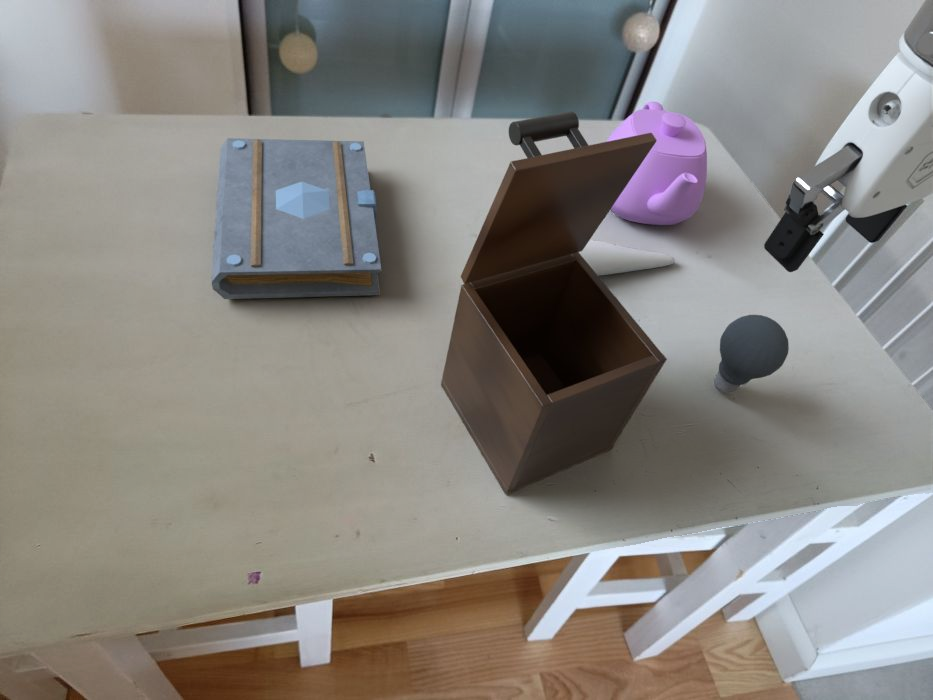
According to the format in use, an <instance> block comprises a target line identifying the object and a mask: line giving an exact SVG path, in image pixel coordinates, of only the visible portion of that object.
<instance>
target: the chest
mask: <svg viewBox="0 0 933 700" xmlns="http://www.w3.org/2000/svg"><path fill="white" fill-rule="evenodd" d="M609 288H610V287H608V286H607V285H606V283H605V282H604V281H603V280H602V279H601V277H600V276H598V275H597V274H596V273H595V271H594V270H593V269H592V268H591V267H590V265H589V264H588V263H587V262H586V261H585V259H584V258H583V257H582V256H581V255H580V253H579V252H577V253H574V254H570V255H567V256H563V257H559V258H556V259H552V260H549V261H545V262H542V263H538V264H535V265H531V266H527V267H524V268H520V269H517V270H513V271H510V272H506V273H503V274H499V275H495V276H492V277H488V278H485V279H481V280H478V281H474V282H471V283H467V284H464V283H463V284H461V286H460V291H459V295H458V299H457V304H456V310H455V315H454V319H453V325H452V328H451V334H450V339H449V344H448V349H447V354H446V358H445V363H444V367H443V368H444V369H443V373H442V378H441V380H440V381H441V382H440V386H441V388H442V390H443V391H444V393H445V395H446V396H447V398H448V399H449V401H450V403H451V405H452V407H453V408H454V409H455V412H456V413H457V414H458V417H459V418H460V420H461V422H462V423H463V426H464V427H465V428H466V430H467V432H468V433H469V436H470V437H471V439H472V440H473V442H474V444H475V446H476V447H477V449H478V450H479V452H480V454H481V456H482V457H483V459H484V461H485V463H486V464H487V466H488V468H489V469H490V471H491V473H492V474H493V476H494V477H495V480H496V481H497V483H498V484H499V486H500V488H501V490H502V491H503V493H504V495H505V496H508V495H509V494H513V493H514V492H517V491H519V490H522V489H523V488H525V487H528V486H530V485H533V484H535V483H537V482H540V481H542V480H544V479H547V478H549V477H551V476H554V475H555V474H559V473H561V472H563V471H565V470H568V469H570V468H573V467H575V466H577V465H579V464H581V463H583V462H586V461H588V460H591V459H593V458H596V457H597V456H600V455H602V454H605V453H606V452H608V451H609V452H610V451H611V450H612V449H613V448H614V447H615V444H616V443H617V441H618V440H619V438H620V437H621V435H622V434H623V431H624V430H625V428H626V427H627V425H628V424H629V421H630V420H631V418H632V417H633V415H634V414H635V412H636V410H637V409H638V407H639V405H640V404H641V403H642V400H643V399H644V397H645V395H646V394H647V393H648V391H649V389H650V387H651V386H652V385H653V382H654V380H656V377H657V376H658V374H659V373H660V371H661V370H662V368H663V366H664V365H665V363H666V361H667V358H666V356H665V355H664V354H663V353H662V352H661V350H660V349H659V348H658V346H657V345H656V344H655V343H654V342H653V341H652V339H651V338H650V337H649V336H648V334H646V331H644V329H643V328H642V327H641V326H640V324H639V323H637V320H635V319H634V317H633V316H632V315H631V313H629V311H628V310H627V309H626V308H625V306H624V305H623V304H622V303H621V302H620V300H619V299H618V298H617V296H615V294H614V293H613V292H612V291H611V289H609Z"/></svg>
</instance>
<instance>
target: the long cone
mask: <svg viewBox="0 0 933 700" xmlns="http://www.w3.org/2000/svg"><path fill="white" fill-rule="evenodd" d="M579 253H580V255H581V256H582V257H583V258H584V259H585V261H586V262H587V263H588V264H589V265H590V267H591V268H592V269H593V270H594V271H595V273H596V274H597V275H598V276H599V277H600V276H607V275H614V274H622V273H629V272H635V271H642V270H649V269H654V268H661V267H666V266H671V265H673V264H674V263H675V261H676V259H675V257H674V256H672V255H670V254H667V253H663V252H657V251H652V250H646V249H639V248H633V247H627V246H623V245H622V246H621V245H617V244H616V243H610V242H605V241H599V240H593V239H590V240H589V242H588V243H587V245H586V246H585V248H584V249H583V250H582V251H581V252H579Z"/></svg>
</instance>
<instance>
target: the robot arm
mask: <svg viewBox="0 0 933 700" xmlns="http://www.w3.org/2000/svg"><path fill="white" fill-rule="evenodd" d="M898 48H899V52H897V54H895V56H894V57H893V58H892V59H891V60H890V62H889V63H888V64H887V65H886V67H885V68H884V69H883V70H882V72H881V73H880V74H879V75H878V76H877V78H875V80H874V81H873V82H872V84H871V85H870V86H869V88H868V89H867V90H866V92H865V93H864V94H863V95H862V96H861V98H860V99H859V101H857V103H856V104H855V105H854V107H853V109H851V111H850V113H849V114H848V115H847V116H846V118H845V119H844V121H843V122H842V123H841V124H840V126H839V127H838V129H837V130H836V132H834V135H833V136H832V138H831V139H830V140H829V142H828V143H827V145H826V147H825V148H824V149H823V151H822V153H821V154H820V156H819V158H818V160H817V161H816V163H815V164H814V166H813V167H812V168H810V169H809V170H807V171H805V172H803V173H802V174H801V175H799V176H798V177H797V178H796V179H794V181H793V182H792V185H791V189H790V194H789V195H788V197H787V199H786V201H785V204H786V205H785V207H784V213H783V215H782V217H781V218H780V220H779V221H778V222H777V224H776V226H775V227H774V229H772V232H771V233H770V235H769V236H768V238H767V240H766V241H765V242H764V243H763V247H764V250H765V251H766V252H767V253H768V254H769V255H770V256H771V257H772V258H773V259H774V260H775V261H776V262H777V263H779V265H780V266H781V267H783V269H785V270H786V271H787V272H788V273H793V272H796V271H798V270H799V268H800V267H801V266H802V265H803V264H804V262H805V260H806V259H807V258H808V256H809V255H810V254H811V253H812V251H813V250H814V248H815V247H816V246H817V244H818V243H819V242H820V240H821V239H822V238H823V237H824V235H825V234H824V233H823V232H822V231H821V230H822V229H823V228H825V227H826V226H827V225H828V224H829V223H831V222H832V221H833V220H834V219H835V218H837V217H838V216H839V215H840V214H842V213H843V212H844V211H846V212H848V213H847V215H846V216H845V222H846V223H847V224H848V226H850V227H851V228H852V229H854V231H856V232H857V233H858V234H859V235H860V236H861V237H863V238H864V239H865V240H866V241H867V242H868V243H870V244H874V243H876V242H879V241H880V240H881V239H882V238H883V236H884V235H885V234H886V233H887V231H888V230H889V229H890V228H891V227H892V225H893V224H894V223H895V222H896V221H897V219H899V217H900V216H901V215H902V214H903V213H904V211H905V210H906V209H907V208H908V205H909V204H911V203H914V202H917V201H919V200H923V199H925V198H927V197H928V196H930V195H932V194H933V0H924V1H923V2H922V4H921V6H920V7H919V9H918V11H917V12H916V14H915V16H914V17H913V18H912V20H911V21H910V22H909V24H908V26H907V27H906V29H905V30H904V32H903V33H902V34H901V36H900V38H899V40H898ZM835 182H838V183H840V184H841V185H842V186H843V187H844V192H843V193H841V192H840V191H839V190H838V189H836V187H834V186H833V185H832V184H834V183H835ZM820 193H821V194H822V195H824V196H825V197H826V198H827V199H828V200H829V201H831V202H832V203H831V204H829V206H828V207H827V208H825V209H824V210H823V211H821V212H820V213H819V210H818V206H817V205H816V204H815V200H817V197H818V195H819V194H820Z"/></svg>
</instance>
